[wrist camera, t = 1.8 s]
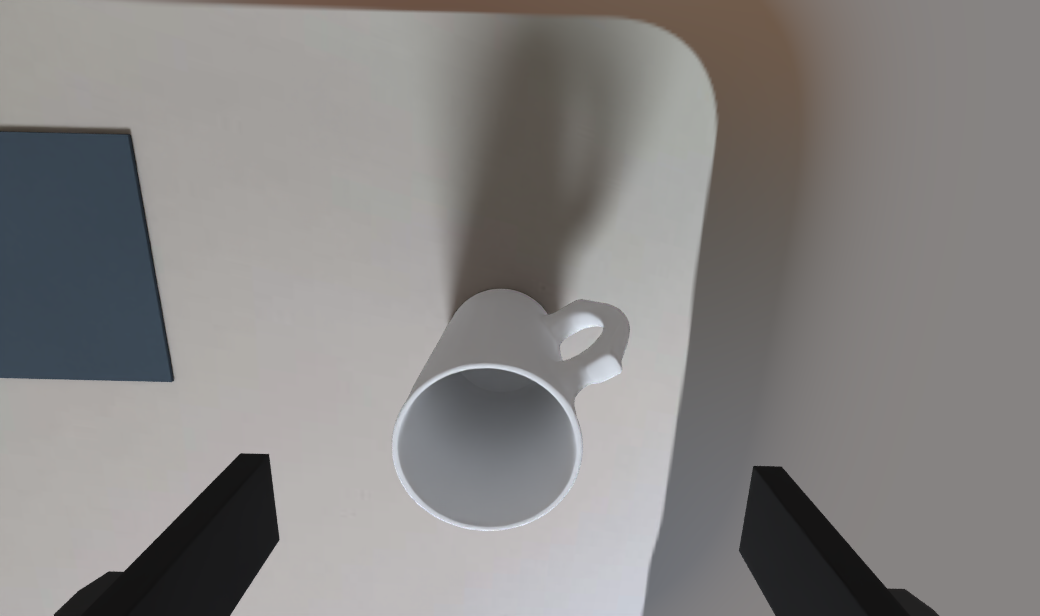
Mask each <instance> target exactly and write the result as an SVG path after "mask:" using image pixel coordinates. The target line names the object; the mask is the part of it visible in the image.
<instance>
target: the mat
mask: <svg viewBox="0 0 1040 616" xmlns="http://www.w3.org/2000/svg"><path fill="white" fill-rule="evenodd" d="M0 378H29V379H70V380H111V381H153V382H172V381H174V379H173V373H172V368H171V362H170V356H169V351H168V345H167V339H166V334H165V328H164V322H163V317H162V311H161V305H160V300H159V294H158V289H157V283H156V277H155V272H154V266H153V260H152V255H151V249H150V243H149V238H148V232H147V226H146V221H145V215H144V209H143V204H142V198H141V192H140V187H139V181H138V175H137V170H136V164H135V158H134V153H133V147H132V141H131V136H130V135H128V134H86V133H43V132H0Z"/></svg>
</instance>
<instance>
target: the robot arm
mask: <svg viewBox="0 0 1040 616" xmlns="http://www.w3.org/2000/svg"><path fill="white" fill-rule="evenodd" d="M278 541H279V532H278V524H277V516H276V508H275V500H274V492H273V483H272V475H271V467H270V459H269V454H242V453H241V454H240V455H239V456H238V457H237V458H236V459H235V460H234V461H233V462H232V463H231V464H230V465H229V466H228V467H227V468H226V469H225V470H224V471H223V472H222V473H221V474H220V475H219V476H218V477H217V478H216V479H215V480H214V481H213V482H212V483H211V484H210V485H209V486H208V487H207V488H206V489H205V490H204V491H203V492H202V493H201V494H200V495H199V496H198V497H197V498H196V499H195V500H194V501H193V502H192V503H191V504H190V505H189V506H188V507H187V508H186V509H185V510H184V511H183V512H182V513H181V514H180V515H179V516H178V517H177V518H176V520H175V521H174V522H173V523H172V524H171V525H170V526H169V527H168V528H167V529H166V530H165V531H164V532H163V533H162V534H161V535H160V536H159V537H158V538H157V539H156V540H155V541H154V542H153V543H152V544H151V545H150V546H149V547H148V548H147V549H146V550H145V551H144V552H143V553H142V554H141V555H140V556H139V557H138V558H137V559H136V560H135V561H134V562H133V563H132V564H131V565H130V566H129V567H128V568H127V569H126V570H125V571H124V572H107V573H106V574H104V575H103V576H101V577H100V578H98V579H96V580H95V581H93V582H92V583H90V584H89V585H87V586H86V587H84V588H82V589H81V590H79V591H78V592H77V593H76V594H75V595H74V596H73V597H72V598H71V599H70V600H69V601H67V602H66V603H65V604H64V605H63V606H62V607H61V608H60V609H59V610H58V611H57V612H56V613H55V614H54V616H230V615H231V613H232V612H233V610H234V609H235V607H236V605H237V604H238V602H239V601H240V599H241V598H242V596H243V595H244V593H245V592H246V590H247V589H248V587H249V586H250V584H251V582H252V581H253V579H254V578H255V576H256V575H257V573H258V572H259V570H260V569H261V567H262V566H263V564H264V563H265V561H266V560H267V558H268V556H269V555H270V553H271V552H272V550H273V549H274V547H275V546H276V544H277V543H278ZM739 551H740V553H741V555H742V557H743V559H744V561H745V562H746V564H747V566H748V568H749V569H750V571H751V573H752V575H753V576H754V578H755V580H756V582H757V584H758V585H759V587H760V589H761V590H762V592H763V594H764V596H765V598H766V600H767V601H768V603H769V605H770V607H771V608H772V610H773V612H774V614H775V615H776V616H939V615H938V614H937V613H936V612H935V611H934V610H933V609H931V608H930V607H929V606H927V605H926V604H925V603H923V602H922V601H920V600H919V599H918V598H916V597H915V596H914V595H912V594H911V593H909V592H908V591H907V590H905V589H887V588H886V587H885V586H884V585H883V583H882V582H881V581H880V580H879V579H878V578H877V577H876V575H875V574H874V573H873V572H872V571H871V570H870V568H869V567H868V566H867V565H866V564H865V563H864V561H863V560H862V559H861V558H860V557H859V556H858V555H857V554H856V552H855V551H854V550H853V549H852V548H851V547H850V545H849V544H848V543H847V542H846V541H845V540H844V538H843V537H842V536H841V535H840V534H839V533H838V531H837V530H836V529H835V528H834V527H833V526H832V525H831V523H830V522H829V521H828V520H827V519H826V518H825V516H824V515H823V514H822V513H821V512H820V511H819V510H818V508H817V507H816V506H815V505H814V504H813V502H812V501H811V500H810V499H809V498H808V497H807V496H806V495H805V493H804V492H803V491H802V490H801V489H800V487H799V486H798V485H797V484H796V483H795V482H794V480H793V479H792V478H791V477H790V476H789V475H788V474H787V472H786V471H785V470H784V469H783V468H782V467H774V466H754V467H753V472H752V477H751V483H750V489H749V495H748V501H747V507H746V512H745V518H744V525H743V530H742V536H741V542H740V548H739Z"/></svg>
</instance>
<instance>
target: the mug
mask: <svg viewBox="0 0 1040 616" xmlns="http://www.w3.org/2000/svg"><path fill="white" fill-rule="evenodd" d="M593 326H601V327H604V328H603V332H602V334H601V335H600V337H599V338H598V339H597V340H596V341H595V343H593V344H592V345H591V346H590V347H589V348H588V349H586V350H585V351H583V352H582V353H580V354H579V355H577V356H575V357H573V358H571V359H568V360H565V361H562V357H561V353H560V344H561V343H562V341H563V340H565V339H566V338H567V337H569V336H571V335H572V334H574V333H576V332H578V331H580V330H582V329H585V328H589V327H593ZM629 332H630V326H629V322H628V319H627V317H626V316H625V314H624V313H623V312H622V311H621V310H620V309H618V308H617V307H614V306H612V305H610V304H606V303H601V302H595V301H588V300H583V299H580V300H576V301H574V302H572V303H570V304H569V305H567V306H565V307H564V308H562V309H560V310H558V311H557V312H555V313H552V314H549V315H548V314H547V312H546V311H545V310H544V308H543V307H542V306H541V305H540V304H539V303H538V302H537V301H535V300H534V299H533V298H531V297H530V296H528V295H526V294H524V293H521V292H519V291H515V290H511V289H491V290H487V291H483V292H480V293H478V294H476V295H474V296H472V297H471V298H469V299H468V300H467V301H465V302H464V303H463V304H462V305H461V306H460V307H459V309H458V310H457V311H456V313H455V314H454V316H453V318H452V319H451V321H450V322H449V324H448V325H447V327H446V329H445V331H444V333H443V334H442V336H441V338H440V340H439V342H438V343H437V345H436V347H435V349H434V350H433V352H432V354H431V356H430V357H429V359H428V361H427V363H426V364H425V366H424V368H423V370H422V371H421V373H420V375H419V377H418V379H417V380H416V382H415V384H414V386H413V388H412V390H411V392H410V394H409V397H408V399H407V400H406V402H405V403H404V405H403V407H402V408H401V410H400V412H399V415H398V417H397V420H396V423H395V426H394V430H393V436H392V455H393V461H394V466H395V469H396V472H397V475H398V477H399V479H400V481H401V483H402V485H403V487H404V488H405V490H406V491H407V493H408V494H409V495H410V496H411V498H412V499H413V500H414V501H415V502H416V503H417V504H418V505H419V506H421V507H422V508H423V509H424V510H426V511H427V512H428V513H430V514H431V515H433V516H435V517H436V518H438V519H440V520H442V521H444V522H447V523H449V524H452V525H455V526H458V527H462V528H466V529H471V530H479V531H498V530H506V529H511V528H515V527H519V526H522V525H525V524H528V523H530V522H532V521H534V520H536V519H538V518H540V517H542V516H543V515H545V514H546V513H548V512H549V511H550V510H552V509H553V508H554V507H555V506H556V505H557V504H558V503H559V502H560V501H561V500H562V499H563V498H564V497H565V496H566V494H567V493H568V492H569V490H570V489H571V487H572V485H573V484H574V482H575V480H576V477H577V475H578V472H579V469H580V465H581V461H582V453H583V442H582V434H581V429H580V425H579V422H578V419H577V416H576V411H575V406H574V400H575V397H576V396H577V394H578V393H579V392H580V391H581V390H582V389H583V388H585V387H586V386H588V385H590V384H592V383H595V384H598V383H601V382H604V381H606V380H608V379H610V378H612V377H614V376H616V375H618V374H620V373H621V372H622V364H621V361H622V358H623V355H624V353H625V350H626V347H627V343H628V339H629Z"/></svg>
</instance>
